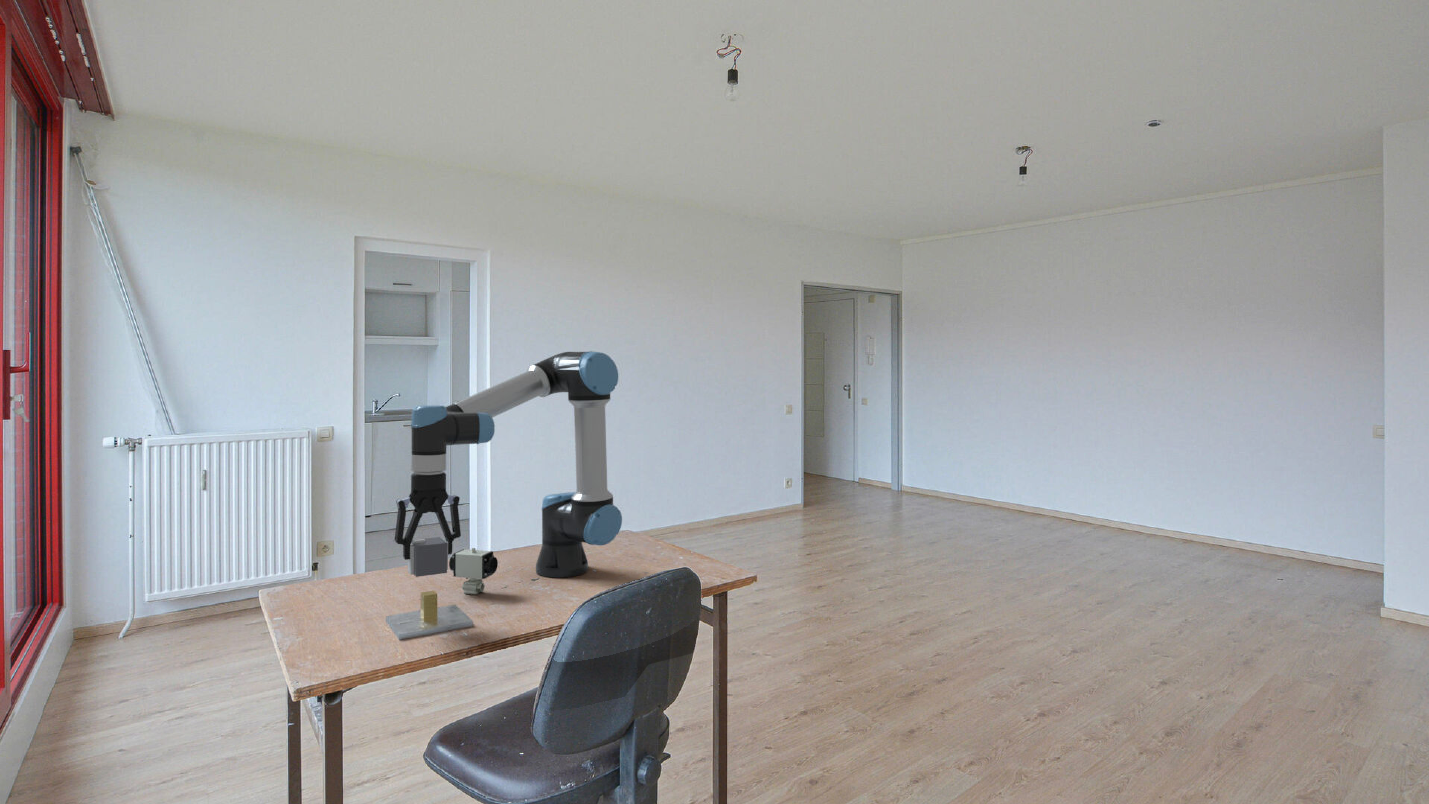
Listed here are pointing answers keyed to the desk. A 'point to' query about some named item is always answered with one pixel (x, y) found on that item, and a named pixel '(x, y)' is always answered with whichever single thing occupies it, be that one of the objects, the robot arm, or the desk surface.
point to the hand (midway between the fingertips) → (428, 570)
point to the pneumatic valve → (473, 568)
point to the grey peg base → (428, 619)
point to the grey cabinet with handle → (430, 556)
